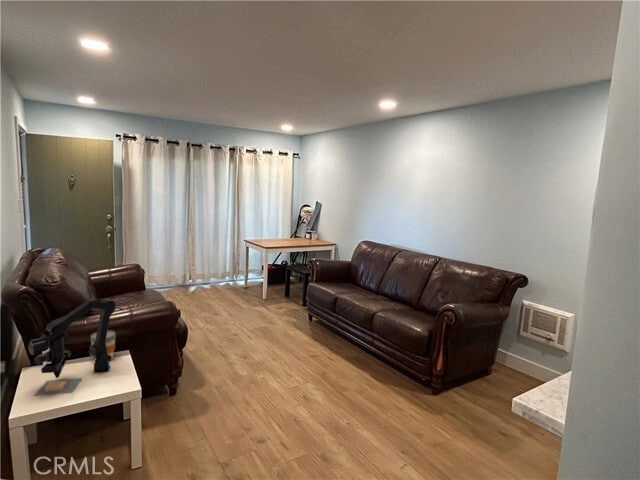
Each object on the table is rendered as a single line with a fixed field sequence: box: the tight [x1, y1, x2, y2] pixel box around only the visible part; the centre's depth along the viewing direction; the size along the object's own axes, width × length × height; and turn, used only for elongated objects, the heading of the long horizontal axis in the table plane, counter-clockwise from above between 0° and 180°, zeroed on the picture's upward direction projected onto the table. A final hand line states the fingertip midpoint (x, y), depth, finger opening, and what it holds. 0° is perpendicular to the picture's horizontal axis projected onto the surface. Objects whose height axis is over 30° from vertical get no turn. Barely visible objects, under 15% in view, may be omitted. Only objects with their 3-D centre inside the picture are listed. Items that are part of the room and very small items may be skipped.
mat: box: [33, 377, 83, 397], centre depth 180 cm, size 16×14×1 cm
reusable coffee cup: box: [90, 329, 117, 361], centre depth 210 cm, size 13×13×15 cm
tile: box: [45, 381, 67, 392], centre depth 179 cm, size 7×2×6 cm
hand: (57, 377), depth 180 cm, fingers closed
